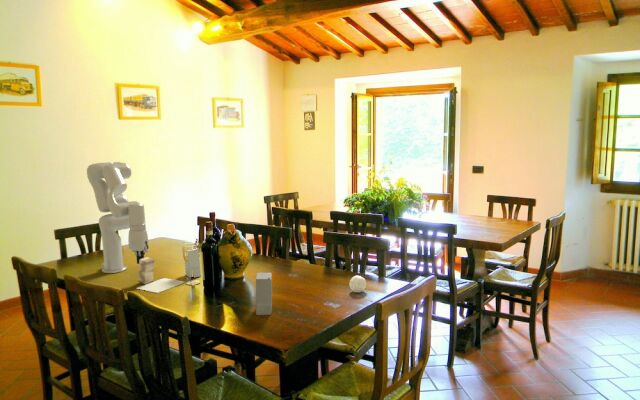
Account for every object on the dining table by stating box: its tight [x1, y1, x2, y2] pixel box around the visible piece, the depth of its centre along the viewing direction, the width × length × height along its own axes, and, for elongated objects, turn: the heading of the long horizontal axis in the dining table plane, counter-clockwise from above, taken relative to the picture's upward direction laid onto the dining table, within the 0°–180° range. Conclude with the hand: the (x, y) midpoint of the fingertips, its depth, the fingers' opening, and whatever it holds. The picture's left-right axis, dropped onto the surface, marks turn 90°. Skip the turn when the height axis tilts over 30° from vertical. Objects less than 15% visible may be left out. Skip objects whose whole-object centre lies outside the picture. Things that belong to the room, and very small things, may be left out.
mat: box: [135, 277, 186, 294], centre depth 234 cm, size 15×18×1 cm
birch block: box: [137, 256, 155, 285], centre depth 238 cm, size 5×5×12 cm
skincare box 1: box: [183, 247, 202, 278], centre depth 248 cm, size 8×6×15 cm
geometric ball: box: [348, 275, 367, 294], centre depth 218 cm, size 8×8×8 cm
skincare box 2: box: [255, 272, 273, 316], centre depth 196 cm, size 8×7×16 cm
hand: (140, 263), depth 239 cm, fingers closed
